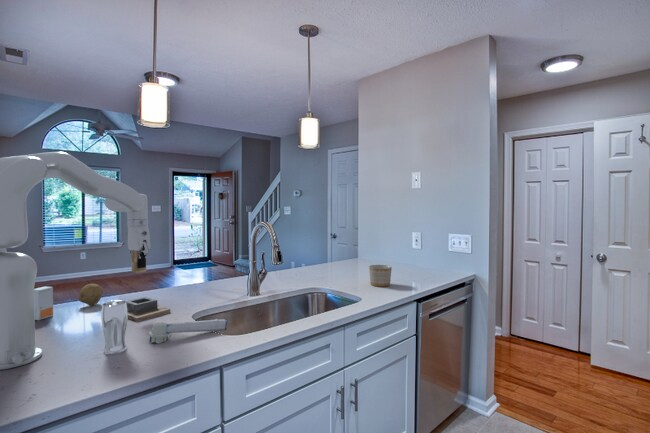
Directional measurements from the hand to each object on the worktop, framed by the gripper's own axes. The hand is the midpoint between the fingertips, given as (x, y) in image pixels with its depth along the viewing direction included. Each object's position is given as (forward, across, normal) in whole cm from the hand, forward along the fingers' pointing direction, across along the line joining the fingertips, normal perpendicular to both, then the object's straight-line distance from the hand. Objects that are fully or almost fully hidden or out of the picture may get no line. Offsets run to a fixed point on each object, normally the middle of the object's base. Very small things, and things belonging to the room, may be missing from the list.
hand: (138, 266), depth 143 cm
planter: (+20, -62, -103) cm, 122 cm away
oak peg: (+2, 0, 0) cm, 2 cm away
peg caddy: (+19, 0, 0) cm, 19 cm away
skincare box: (+20, +26, +25) cm, 41 cm away
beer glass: (+20, -31, +24) cm, 44 cm away
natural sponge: (+20, +28, +7) cm, 35 cm away
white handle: (+20, -40, +3) cm, 44 cm away
